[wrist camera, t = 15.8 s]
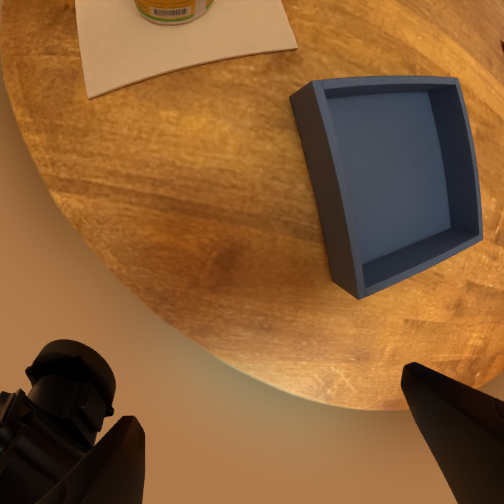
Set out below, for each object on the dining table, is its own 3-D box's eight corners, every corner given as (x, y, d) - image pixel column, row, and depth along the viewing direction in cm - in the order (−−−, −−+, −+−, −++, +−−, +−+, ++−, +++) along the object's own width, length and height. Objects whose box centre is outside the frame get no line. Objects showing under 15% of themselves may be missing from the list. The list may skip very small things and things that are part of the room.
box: (332, 281, 22) (358, 300, 18) (288, 96, 18) (311, 80, 15) (452, 231, 24) (483, 239, 20) (427, 85, 20) (458, 77, 17)
